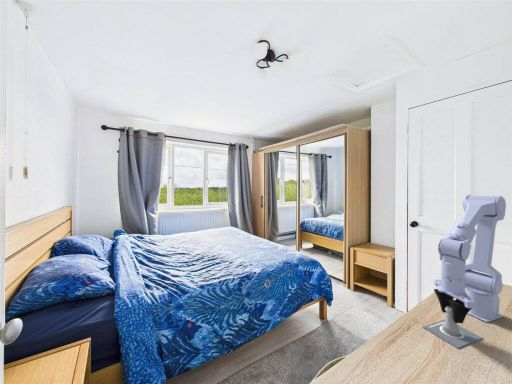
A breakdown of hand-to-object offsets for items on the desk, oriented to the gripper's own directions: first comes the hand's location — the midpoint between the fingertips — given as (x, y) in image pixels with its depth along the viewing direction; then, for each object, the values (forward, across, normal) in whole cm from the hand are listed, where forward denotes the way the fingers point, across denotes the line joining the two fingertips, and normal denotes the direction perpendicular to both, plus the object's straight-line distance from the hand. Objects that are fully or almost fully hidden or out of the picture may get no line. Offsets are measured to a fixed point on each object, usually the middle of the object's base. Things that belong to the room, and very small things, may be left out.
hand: (451, 317), depth 71 cm
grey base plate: (+5, 0, 0) cm, 5 cm away
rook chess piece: (+5, 0, 0) cm, 5 cm away
